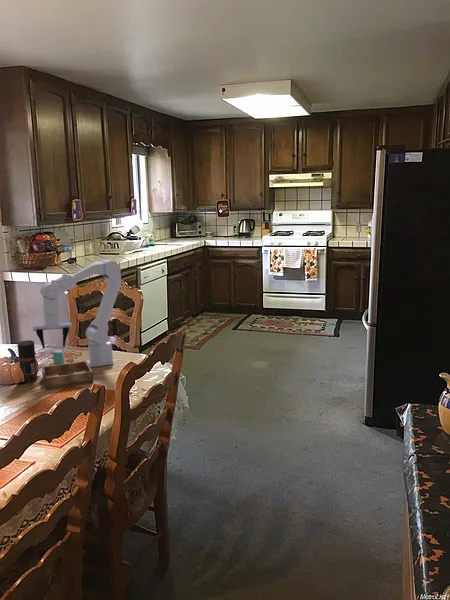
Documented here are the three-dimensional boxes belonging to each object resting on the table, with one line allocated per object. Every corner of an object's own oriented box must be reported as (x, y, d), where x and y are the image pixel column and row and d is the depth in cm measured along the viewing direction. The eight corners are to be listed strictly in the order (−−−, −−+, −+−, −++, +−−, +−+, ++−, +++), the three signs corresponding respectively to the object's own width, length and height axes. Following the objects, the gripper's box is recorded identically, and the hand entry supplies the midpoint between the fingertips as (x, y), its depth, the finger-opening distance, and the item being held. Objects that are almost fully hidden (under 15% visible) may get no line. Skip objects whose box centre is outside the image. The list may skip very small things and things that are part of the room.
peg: (64, 368, 215) (62, 349, 213) (65, 371, 211) (63, 352, 210) (53, 369, 213) (52, 351, 212) (54, 372, 210) (53, 353, 208)
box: (87, 371, 211) (86, 360, 210) (93, 382, 198) (92, 371, 198) (42, 377, 204) (41, 367, 203) (46, 390, 192) (45, 378, 191)
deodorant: (31, 383, 199) (28, 346, 195) (17, 382, 200) (14, 344, 196) (40, 377, 205) (37, 341, 201) (26, 376, 206) (23, 339, 202)
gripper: (31, 317, 200) (34, 351, 202) (71, 314, 204) (73, 348, 207) (32, 313, 206) (34, 346, 209) (70, 310, 211) (72, 343, 213)
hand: (53, 347), depth 208 cm, fingers open, 7 cm apart
